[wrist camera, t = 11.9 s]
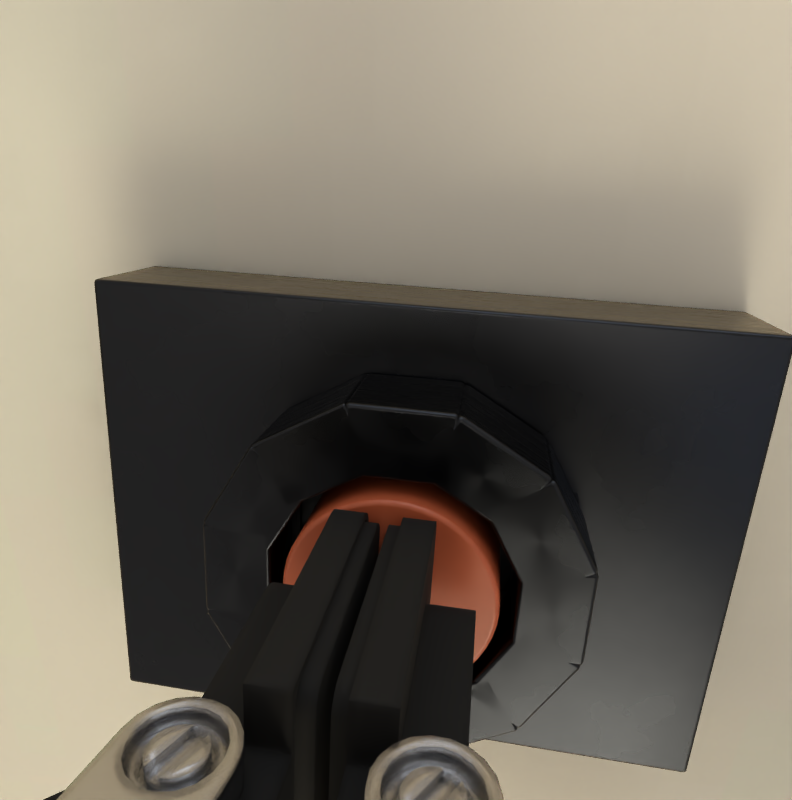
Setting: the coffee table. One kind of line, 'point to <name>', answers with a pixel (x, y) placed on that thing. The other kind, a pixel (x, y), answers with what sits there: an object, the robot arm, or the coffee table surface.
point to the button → (454, 546)
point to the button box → (448, 475)
